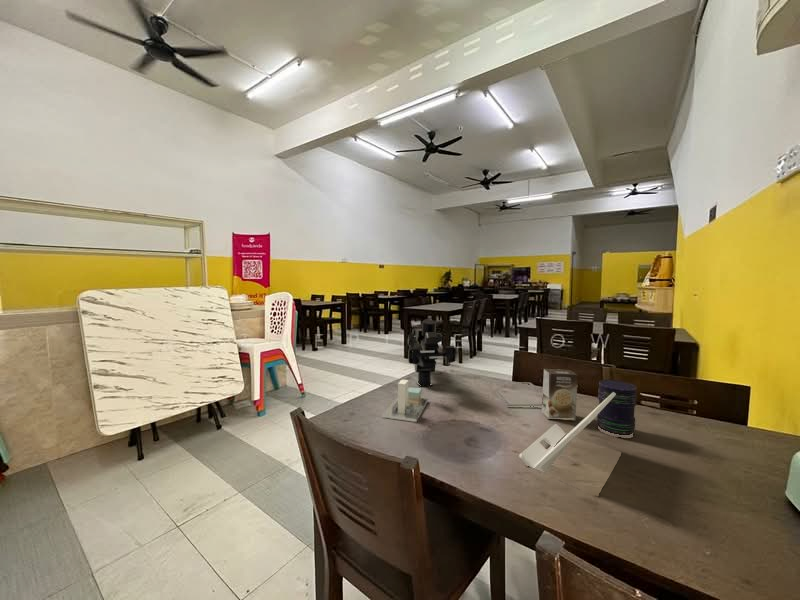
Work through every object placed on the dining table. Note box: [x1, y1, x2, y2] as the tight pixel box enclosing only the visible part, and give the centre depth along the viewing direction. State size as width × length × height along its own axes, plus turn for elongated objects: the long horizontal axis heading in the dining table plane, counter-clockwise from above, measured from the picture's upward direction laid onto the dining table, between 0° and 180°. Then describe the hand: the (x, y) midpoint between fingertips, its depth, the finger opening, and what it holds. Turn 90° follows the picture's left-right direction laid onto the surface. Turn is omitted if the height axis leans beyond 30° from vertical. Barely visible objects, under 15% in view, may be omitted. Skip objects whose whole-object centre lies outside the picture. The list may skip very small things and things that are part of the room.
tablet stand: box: [518, 392, 616, 473], centre depth 84 cm, size 18×25×17 cm
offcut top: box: [408, 386, 423, 398], centre depth 122 cm, size 5×7×2 cm
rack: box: [381, 396, 429, 423], centre depth 116 cm, size 19×12×3 cm, turn 163°
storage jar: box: [596, 379, 638, 435], centre depth 99 cm, size 10×10×15 cm
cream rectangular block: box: [397, 379, 409, 414], centre depth 111 cm, size 4×2×10 cm, turn 163°
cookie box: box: [541, 368, 579, 420], centre depth 110 cm, size 9×6×16 cm
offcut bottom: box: [408, 394, 422, 403], centre depth 122 cm, size 5×7×2 cm
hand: (435, 364), depth 118 cm, fingers open, 9 cm apart
